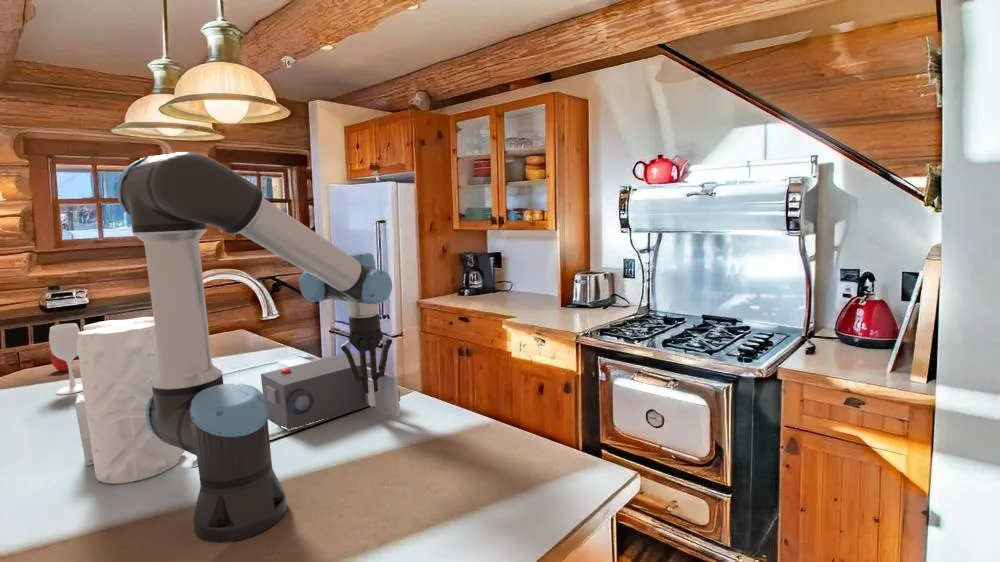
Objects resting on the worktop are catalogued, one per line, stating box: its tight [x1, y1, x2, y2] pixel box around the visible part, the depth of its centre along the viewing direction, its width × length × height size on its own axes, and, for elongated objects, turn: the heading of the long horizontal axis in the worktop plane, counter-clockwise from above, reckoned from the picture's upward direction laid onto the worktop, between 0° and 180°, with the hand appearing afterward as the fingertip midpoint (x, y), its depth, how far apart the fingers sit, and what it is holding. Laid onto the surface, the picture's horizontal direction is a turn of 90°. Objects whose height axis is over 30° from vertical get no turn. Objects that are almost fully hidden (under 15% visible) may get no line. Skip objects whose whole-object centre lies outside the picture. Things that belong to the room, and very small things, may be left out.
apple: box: [50, 352, 74, 372], centre depth 198 cm, size 6×6×8 cm
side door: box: [364, 367, 401, 417], centre depth 146 cm, size 2×15×10 cm, turn 45°
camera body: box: [260, 352, 370, 429], centre depth 149 cm, size 16×27×13 cm, turn 134°
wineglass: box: [48, 322, 83, 396], centre depth 175 cm, size 9×9×21 cm
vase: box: [77, 316, 186, 485], centre depth 119 cm, size 17×16×32 cm
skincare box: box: [74, 393, 94, 466], centre depth 126 cm, size 8×6×15 cm
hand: (371, 404), depth 142 cm, fingers closed
